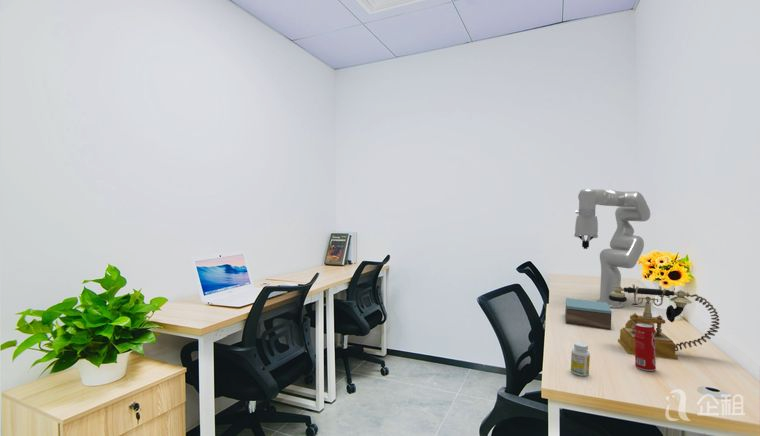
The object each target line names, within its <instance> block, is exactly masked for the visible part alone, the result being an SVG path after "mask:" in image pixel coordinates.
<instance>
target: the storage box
mask: <svg viewBox="0 0 760 436" xmlns="http://www.w3.org/2000/svg"><path fill="white" fill-rule="evenodd" d="M564 310H565V311H564V312H565V313H564V314H565V315H564V316H565V324H566V325H572V326H579V327H587V328H593V329H601V330H607V331H611V330H612V315H613V314H608V313H600V312H592V311H583V310H575V309H567V307H566V306H565V309H564Z"/></svg>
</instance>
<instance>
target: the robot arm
mask: <svg viewBox="0 0 760 436" xmlns="http://www.w3.org/2000/svg"><path fill="white" fill-rule="evenodd" d="M577 197H578V210H575V214H578V215H577V216H576V218H575V225H574V227H575V228H574V235H573V236H574V238H575V237H576V238H579V239H580V240H581V241H582V243H581V247H582V248H583V249H584V250H588V248H589V247H590V241H592V239H597V238H598V237H599V236H598V232H599V222H598V221H599V220H598V216H596V207H597V205H598V206H605V207H606V206H607V207H617V208H616V209H615V212H614V214H615V215H614V216H615V221H616V230H615V231H614V234H613V235H612V237H611V239H610V242H609V246H610V248H604V249H602V250H601V251H600V252H599V253H600V254H599V261H600V287H599V289H600V292H599V300H596V301H597V302H606V303H608V305H609V307H610V309H621V308H624V305H623V304H622V302H617V301H612V300H610V299H609V295H611V292H615V290H614V289H615V286H621V284H622V282H621V281H622V275H621V271H620V269H619V268H622V269H632V268H634V267H635V266H636V265H637V262H638V261H639V259H640V256H641V255H642V252H643V250H644V247H645V241H644V239H643V237H641V236H640V235H634V233H635V229H634V227H633V226H632V224H631V223H630V222H647V221H648V220H650V218H651V209H650V207H649V206H648V204H647V201H646V199H645V197H644V196H643V194H642V193H641V192H639V191H620V190H613V189H611V190H607V189H606V190H605V189H593V188H592V189H586V188H585V189H581V190H580V191H579V192H578V195H577ZM585 236H587V237H585ZM585 238H586V239H585ZM621 287H622V286H621Z"/></svg>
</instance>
